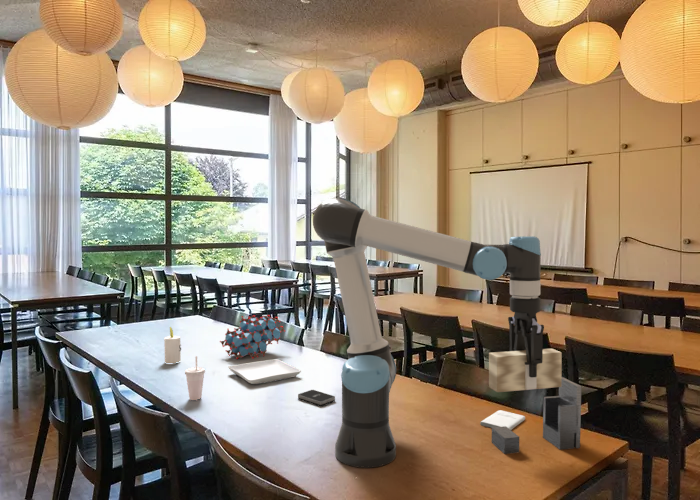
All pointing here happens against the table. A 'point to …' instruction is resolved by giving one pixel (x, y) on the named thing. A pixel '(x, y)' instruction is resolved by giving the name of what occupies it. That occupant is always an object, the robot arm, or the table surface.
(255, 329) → the molecule model
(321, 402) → the external hard drive
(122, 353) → the table surface
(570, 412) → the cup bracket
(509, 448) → the block
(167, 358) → the candle
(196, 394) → the smoothie
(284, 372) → the salad plate
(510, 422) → the external hard drive
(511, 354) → the rail
